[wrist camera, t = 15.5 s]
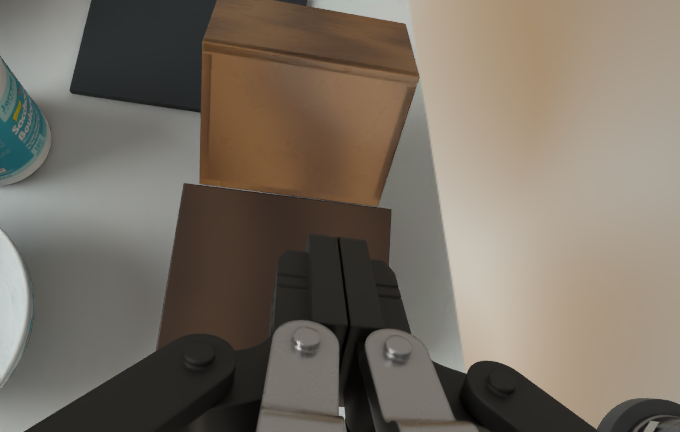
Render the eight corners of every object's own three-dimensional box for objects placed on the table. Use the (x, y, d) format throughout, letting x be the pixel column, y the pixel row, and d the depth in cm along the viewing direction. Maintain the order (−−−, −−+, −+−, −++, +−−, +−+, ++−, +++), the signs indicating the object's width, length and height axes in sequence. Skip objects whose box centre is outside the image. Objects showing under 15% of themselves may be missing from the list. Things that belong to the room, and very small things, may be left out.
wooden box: (377, 206, 37) (371, 146, 42) (419, 77, 31) (405, 23, 36) (199, 184, 36) (214, 123, 41) (202, 41, 29) (220, -10, 34)
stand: (366, 236, 45) (391, 209, 38) (357, 374, 42) (383, 374, 34) (193, 216, 43) (183, 182, 35) (170, 359, 40) (154, 356, 32)
